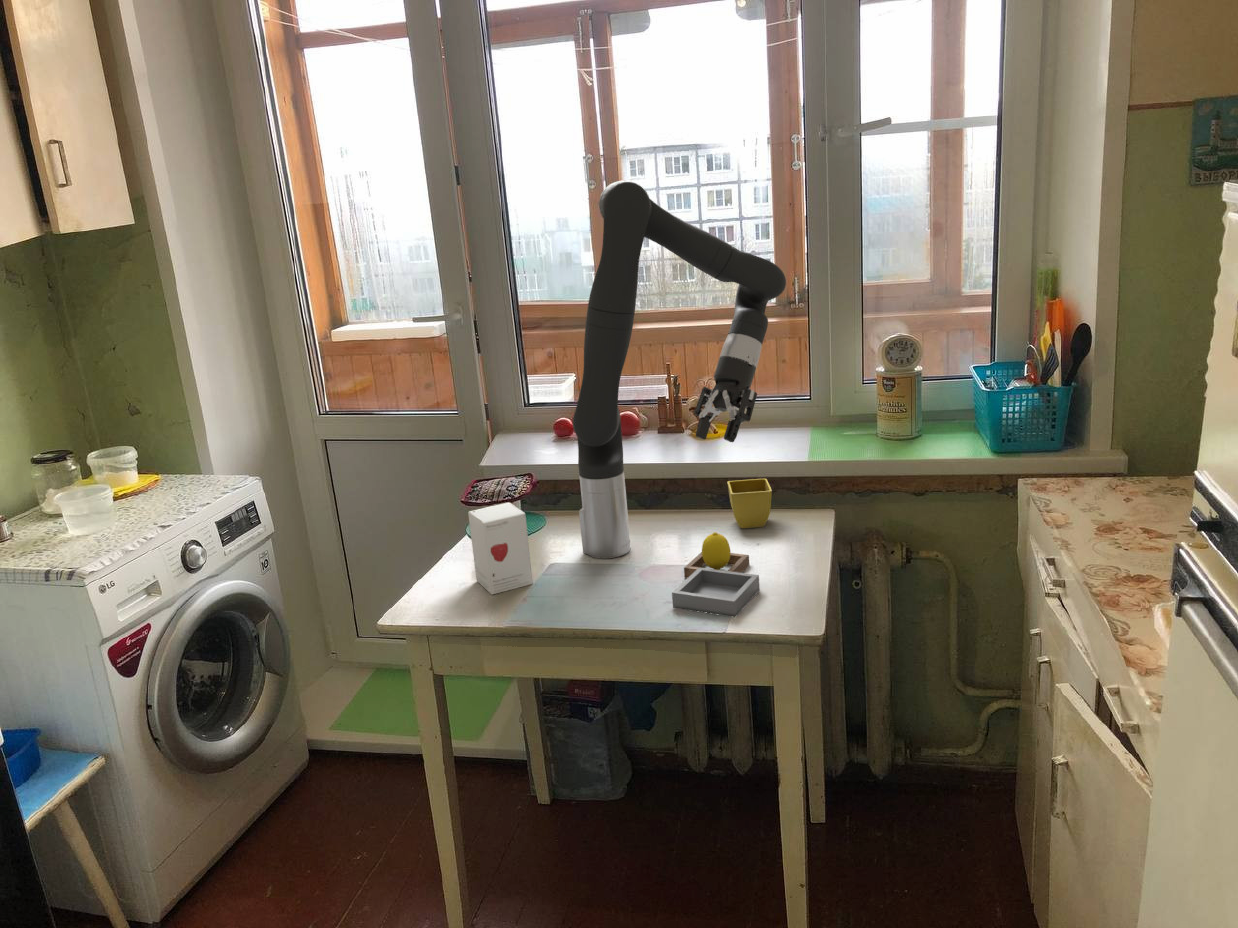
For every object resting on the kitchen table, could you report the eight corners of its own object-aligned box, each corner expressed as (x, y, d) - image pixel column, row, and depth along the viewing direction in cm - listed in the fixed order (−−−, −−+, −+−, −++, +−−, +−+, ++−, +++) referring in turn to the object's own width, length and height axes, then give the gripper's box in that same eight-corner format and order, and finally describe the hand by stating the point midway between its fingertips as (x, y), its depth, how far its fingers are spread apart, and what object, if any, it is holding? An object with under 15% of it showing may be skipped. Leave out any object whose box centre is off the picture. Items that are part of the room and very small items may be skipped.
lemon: (730, 576, 185) (728, 537, 182) (701, 576, 186) (698, 537, 184) (732, 565, 190) (730, 527, 188) (704, 565, 191) (702, 527, 189)
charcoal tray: (673, 607, 173) (671, 592, 172) (700, 582, 183) (699, 567, 182) (735, 617, 168) (734, 601, 167) (759, 590, 178) (758, 575, 177)
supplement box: (491, 596, 185) (481, 523, 181) (475, 581, 193) (466, 511, 189) (534, 584, 189) (526, 512, 185) (517, 570, 197) (509, 500, 193)
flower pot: (773, 530, 206) (772, 490, 204) (733, 533, 207) (731, 493, 204) (768, 516, 215) (766, 478, 212) (729, 519, 215) (727, 481, 213)
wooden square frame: (684, 577, 186) (683, 567, 186) (704, 559, 194) (703, 549, 193) (730, 583, 181) (730, 573, 181) (749, 564, 189) (748, 554, 189)
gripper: (701, 355, 192) (677, 431, 190) (749, 353, 181) (724, 435, 179) (727, 369, 197) (704, 443, 195) (776, 368, 185) (752, 448, 183)
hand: (714, 439), depth 187 cm, fingers open, 8 cm apart
